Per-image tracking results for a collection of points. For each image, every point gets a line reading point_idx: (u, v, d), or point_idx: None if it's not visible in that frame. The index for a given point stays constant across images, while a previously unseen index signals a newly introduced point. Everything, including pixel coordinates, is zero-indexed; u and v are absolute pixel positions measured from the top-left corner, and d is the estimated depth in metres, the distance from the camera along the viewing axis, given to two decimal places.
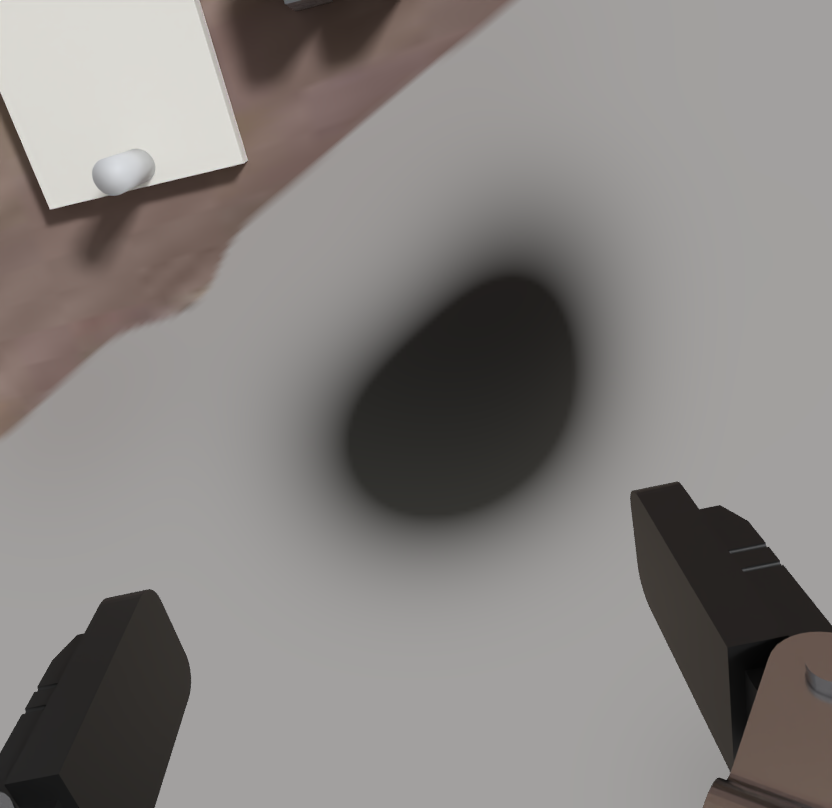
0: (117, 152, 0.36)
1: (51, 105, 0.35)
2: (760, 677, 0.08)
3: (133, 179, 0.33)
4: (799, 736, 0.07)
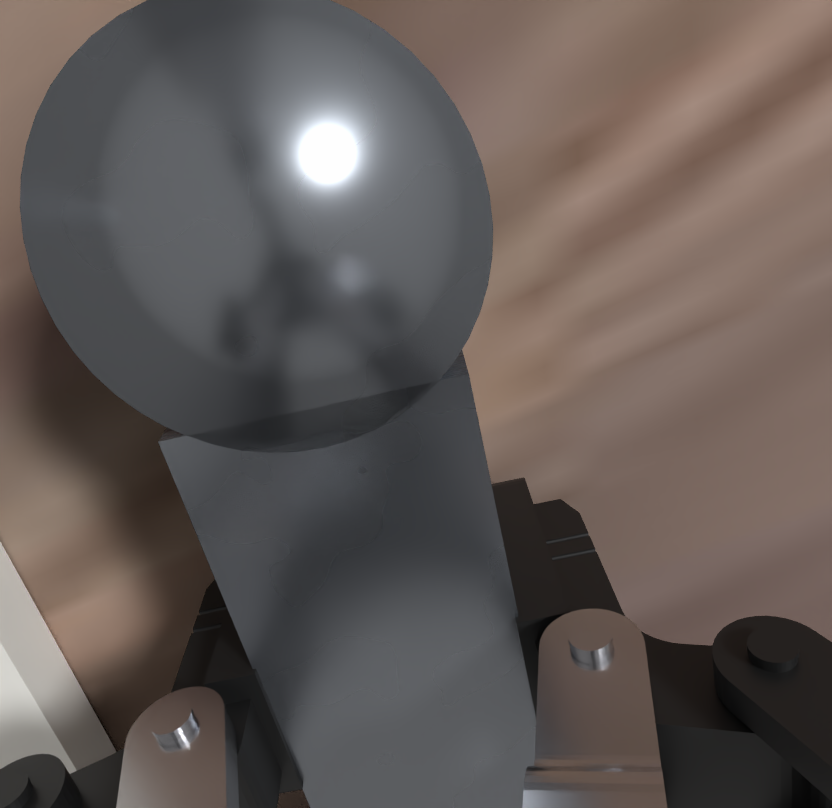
0: None
1: None
2: None
3: None
4: (546, 696, 0.08)
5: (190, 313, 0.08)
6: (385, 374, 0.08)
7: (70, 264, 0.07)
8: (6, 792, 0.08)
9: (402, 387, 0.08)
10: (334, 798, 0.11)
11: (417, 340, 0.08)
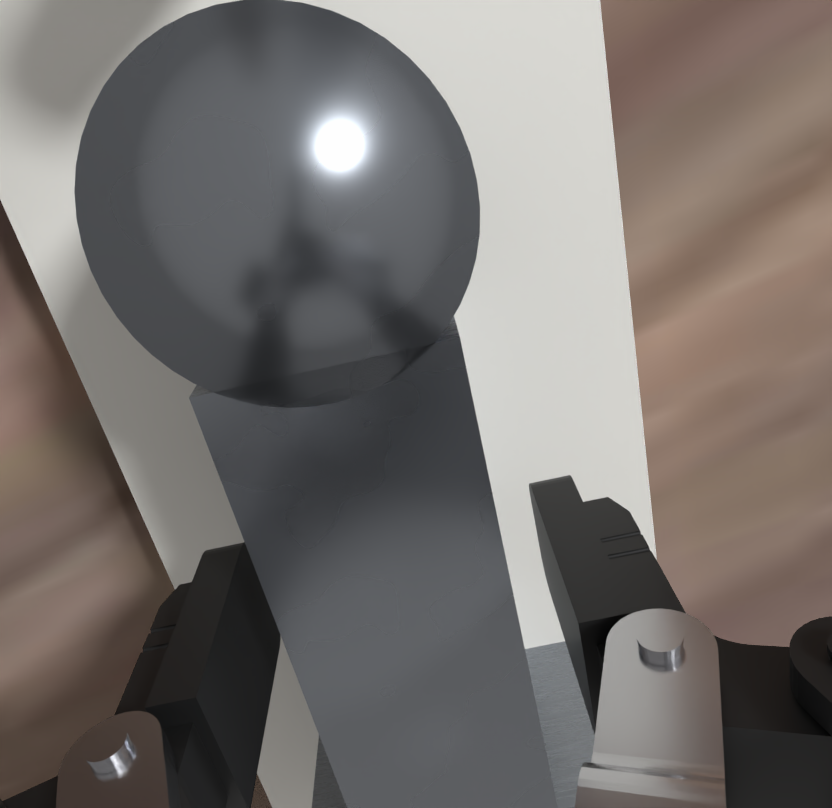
0: None
1: None
2: None
3: None
4: (619, 699, 0.08)
5: (218, 283, 0.09)
6: (387, 338, 0.09)
7: (116, 240, 0.08)
8: None
9: (402, 349, 0.09)
10: (341, 728, 0.12)
11: (415, 307, 0.09)
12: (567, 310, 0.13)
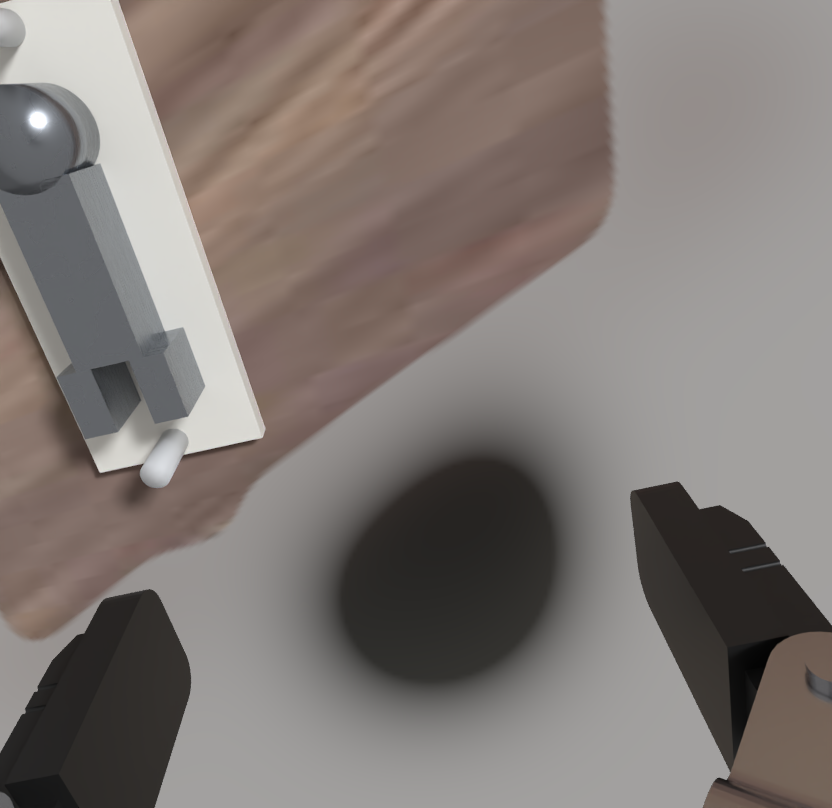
0: (157, 431, 0.43)
1: None
2: (760, 677, 0.08)
3: (173, 472, 0.40)
4: (800, 736, 0.07)
5: None
6: (48, 173, 0.33)
7: None
8: None
9: (53, 177, 0.33)
10: (58, 315, 0.36)
11: (54, 164, 0.33)
12: (150, 182, 0.37)
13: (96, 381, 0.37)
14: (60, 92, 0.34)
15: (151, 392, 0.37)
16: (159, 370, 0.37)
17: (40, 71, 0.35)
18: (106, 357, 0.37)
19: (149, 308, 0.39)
